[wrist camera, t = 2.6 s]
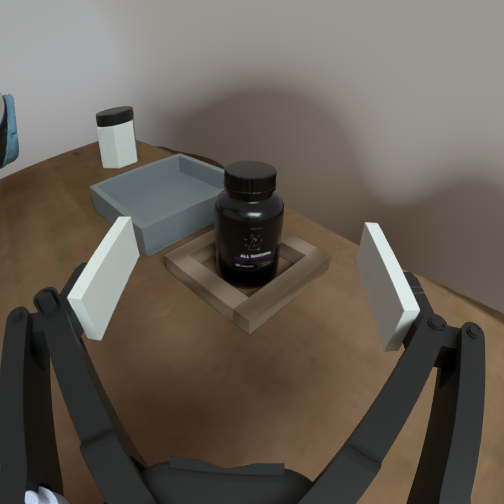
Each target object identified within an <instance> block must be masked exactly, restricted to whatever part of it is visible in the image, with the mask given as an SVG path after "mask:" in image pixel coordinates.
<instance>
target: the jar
mask: <svg viewBox="0 0 504 504" xmlns="http://www.w3.org/2000/svg"><path fill="white" fill-rule="evenodd" d="M133 114H134V113H133V108H132V107H130V106H124V107H117V108H112V109H107V110H104V111H101V112H99V113H97V114H96V121H97V126H98V127H97V134H98V140H99V147H100V153H101V159H102V164H103V168H115V169H120V168H123V167H125V166H128V165H130V164H133V163H136V162H137V161H138V153H137V145H136V136H135V128H134V118H133Z"/></svg>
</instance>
